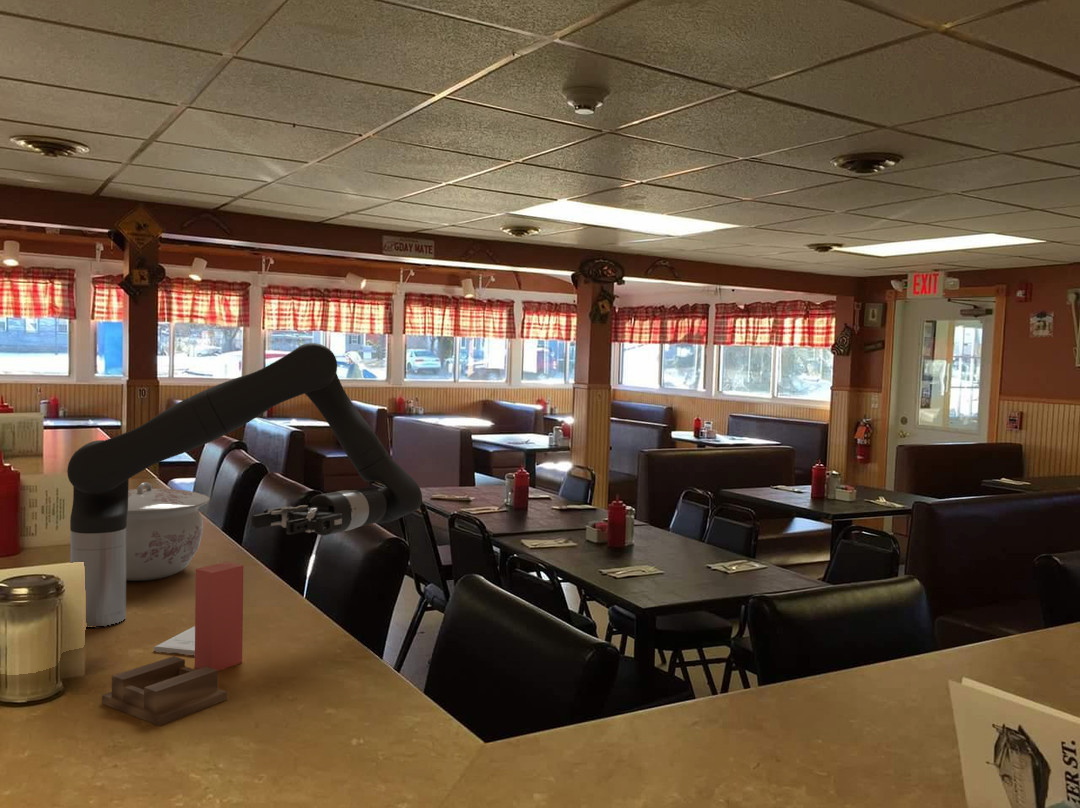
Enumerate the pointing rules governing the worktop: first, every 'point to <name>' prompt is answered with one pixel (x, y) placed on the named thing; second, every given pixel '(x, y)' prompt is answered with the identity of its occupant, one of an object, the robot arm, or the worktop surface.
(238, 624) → the salmon rectangular prism
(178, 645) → the external hard drive
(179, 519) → the chamber pot
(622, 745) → the worktop surface
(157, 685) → the rack
